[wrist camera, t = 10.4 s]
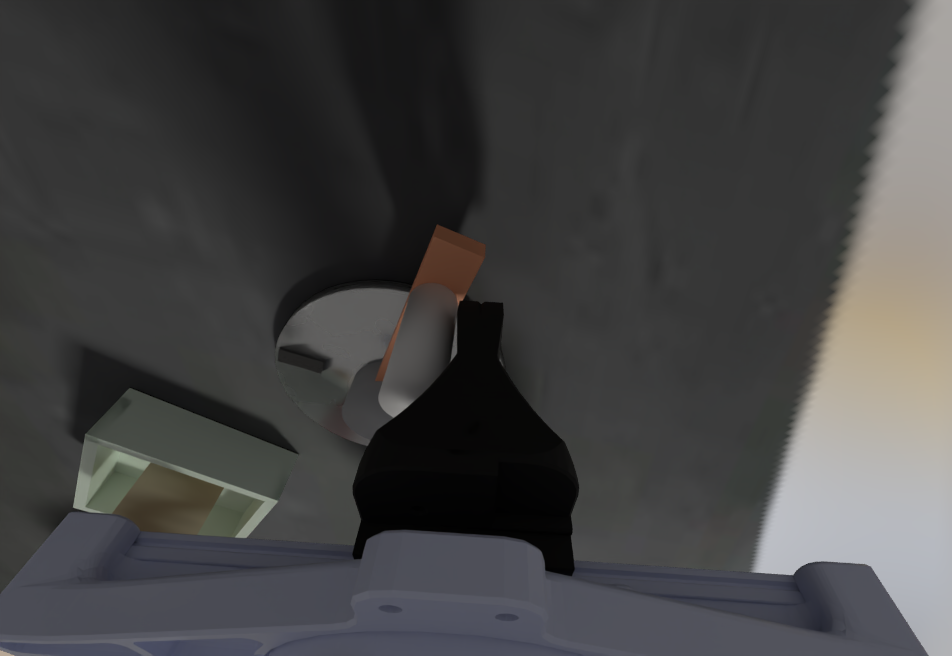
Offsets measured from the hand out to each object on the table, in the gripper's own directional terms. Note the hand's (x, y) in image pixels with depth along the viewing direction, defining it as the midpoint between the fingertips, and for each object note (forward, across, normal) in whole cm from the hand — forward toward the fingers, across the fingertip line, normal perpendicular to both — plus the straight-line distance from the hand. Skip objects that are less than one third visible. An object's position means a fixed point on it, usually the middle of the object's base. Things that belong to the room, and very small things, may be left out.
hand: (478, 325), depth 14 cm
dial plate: (+3, +4, +6) cm, 8 cm away
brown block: (+3, +17, +15) cm, 23 cm away
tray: (+3, +18, +15) cm, 23 cm away
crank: (+2, +3, +3) cm, 5 cm away
